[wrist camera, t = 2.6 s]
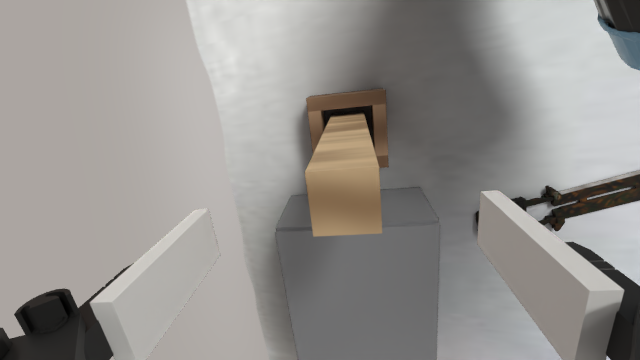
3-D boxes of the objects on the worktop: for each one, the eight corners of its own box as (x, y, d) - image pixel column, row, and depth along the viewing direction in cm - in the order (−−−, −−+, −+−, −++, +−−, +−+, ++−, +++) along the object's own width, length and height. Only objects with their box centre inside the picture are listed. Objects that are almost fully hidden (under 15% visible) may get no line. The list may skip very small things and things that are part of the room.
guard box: (291, 195, 43) (274, 229, 34) (419, 187, 41) (439, 221, 32) (313, 342, 53) (305, 401, 43) (419, 342, 50) (435, 405, 41)
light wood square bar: (331, 113, 39) (304, 172, 16) (363, 110, 38) (379, 166, 16) (334, 144, 40) (313, 236, 18) (365, 141, 40) (382, 233, 17)
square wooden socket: (310, 96, 38) (306, 98, 35) (382, 88, 37) (385, 90, 33) (318, 163, 41) (315, 172, 38) (385, 158, 40) (388, 167, 36)
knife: (688, 156, 37) (700, 159, 35) (683, 203, 39) (694, 207, 37) (472, 198, 41) (476, 203, 40) (477, 239, 43) (481, 244, 42)
